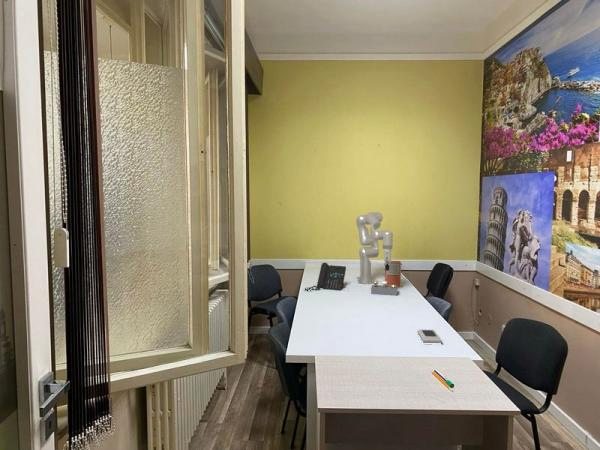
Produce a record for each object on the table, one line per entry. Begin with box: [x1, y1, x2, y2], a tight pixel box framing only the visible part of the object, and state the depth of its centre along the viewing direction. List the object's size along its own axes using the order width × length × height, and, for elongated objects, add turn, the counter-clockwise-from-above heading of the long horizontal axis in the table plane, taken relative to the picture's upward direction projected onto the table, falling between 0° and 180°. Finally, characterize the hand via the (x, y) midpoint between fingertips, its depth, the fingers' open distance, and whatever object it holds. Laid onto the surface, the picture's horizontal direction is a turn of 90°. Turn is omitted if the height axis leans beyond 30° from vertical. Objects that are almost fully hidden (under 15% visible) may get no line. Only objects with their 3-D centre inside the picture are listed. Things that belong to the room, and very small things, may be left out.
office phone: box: [304, 262, 347, 291], centre depth 331 cm, size 29×28×20 cm
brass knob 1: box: [372, 279, 379, 287], centre depth 316 cm, size 4×4×6 cm
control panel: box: [383, 260, 403, 288], centre depth 337 cm, size 21×7×15 cm
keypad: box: [417, 329, 443, 344], centre depth 218 cm, size 10×4×15 cm
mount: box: [370, 284, 399, 296], centre depth 315 cm, size 20×10×5 cm, turn 74°
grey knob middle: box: [381, 280, 387, 288], centre depth 314 cm, size 4×4×6 cm
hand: (387, 270), depth 313 cm, fingers closed
